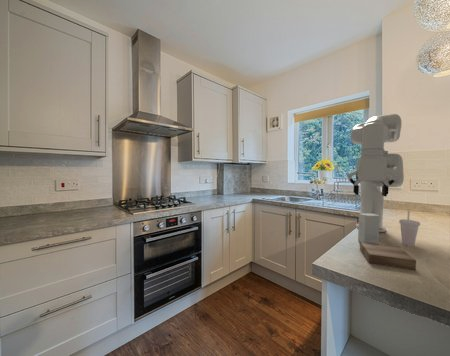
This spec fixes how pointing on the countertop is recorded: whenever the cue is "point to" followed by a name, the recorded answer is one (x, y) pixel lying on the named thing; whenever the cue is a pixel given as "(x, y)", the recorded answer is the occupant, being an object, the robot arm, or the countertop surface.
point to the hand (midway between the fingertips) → (370, 195)
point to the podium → (387, 255)
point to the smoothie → (409, 230)
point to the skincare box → (368, 228)
